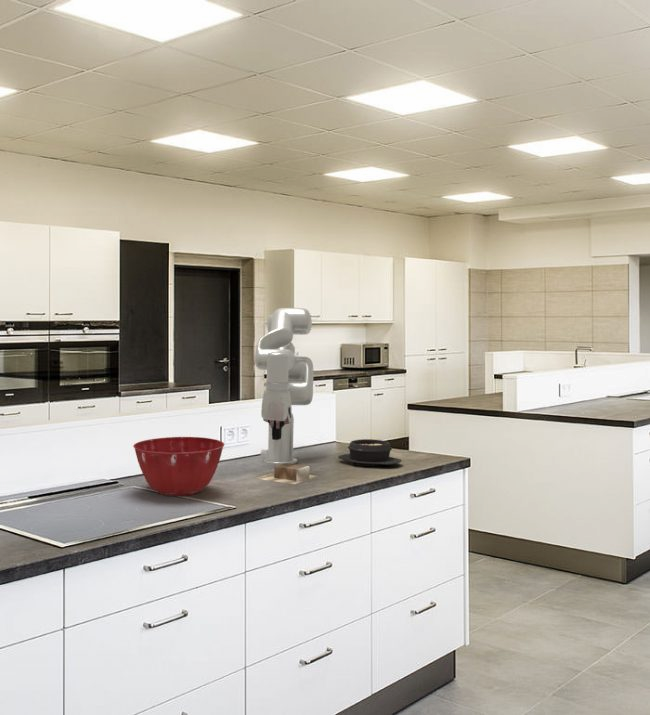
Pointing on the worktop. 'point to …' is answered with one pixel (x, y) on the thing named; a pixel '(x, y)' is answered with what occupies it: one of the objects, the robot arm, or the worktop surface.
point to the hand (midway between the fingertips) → (276, 439)
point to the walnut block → (291, 472)
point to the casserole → (370, 453)
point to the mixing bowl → (178, 463)
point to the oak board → (271, 478)
